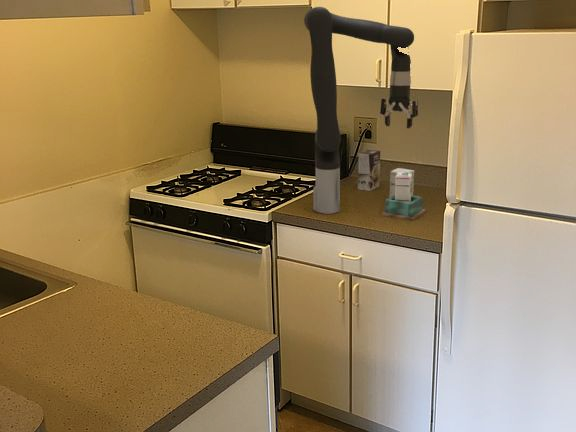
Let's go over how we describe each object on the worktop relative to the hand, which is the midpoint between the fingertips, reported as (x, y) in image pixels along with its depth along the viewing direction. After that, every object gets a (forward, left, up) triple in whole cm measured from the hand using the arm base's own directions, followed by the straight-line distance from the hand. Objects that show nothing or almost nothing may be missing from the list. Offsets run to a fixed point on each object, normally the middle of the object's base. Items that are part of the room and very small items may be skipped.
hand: (398, 127), depth 241 cm
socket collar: (+6, -6, -32) cm, 33 cm away
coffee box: (-22, +21, -32) cm, 44 cm away
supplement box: (-2, +10, -32) cm, 33 cm away
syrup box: (+6, -6, -31) cm, 32 cm away
